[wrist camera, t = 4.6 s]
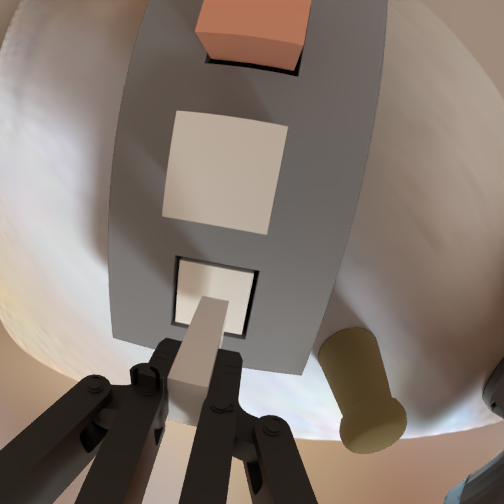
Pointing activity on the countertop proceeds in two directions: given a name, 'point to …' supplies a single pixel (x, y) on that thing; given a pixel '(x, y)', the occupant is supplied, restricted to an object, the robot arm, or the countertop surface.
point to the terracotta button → (254, 30)
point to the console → (288, 186)
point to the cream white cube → (223, 170)
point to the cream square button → (213, 290)
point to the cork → (361, 391)
